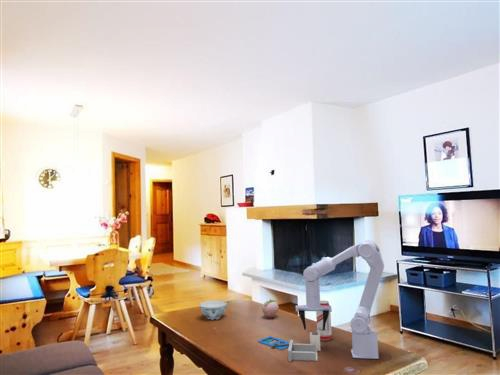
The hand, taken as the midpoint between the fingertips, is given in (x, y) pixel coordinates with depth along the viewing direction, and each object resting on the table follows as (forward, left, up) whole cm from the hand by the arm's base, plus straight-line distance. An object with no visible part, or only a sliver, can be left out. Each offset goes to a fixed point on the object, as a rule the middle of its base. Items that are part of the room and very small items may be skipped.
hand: (314, 329), depth 149 cm
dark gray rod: (+13, -1, -8) cm, 15 cm away
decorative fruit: (+24, -43, -8) cm, 50 cm away
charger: (0, 0, -8) cm, 8 cm away
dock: (+4, +8, -8) cm, 12 cm away
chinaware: (+55, -41, -8) cm, 69 cm away
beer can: (-4, -12, -8) cm, 15 cm away
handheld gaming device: (+17, -5, -8) cm, 20 cm away
